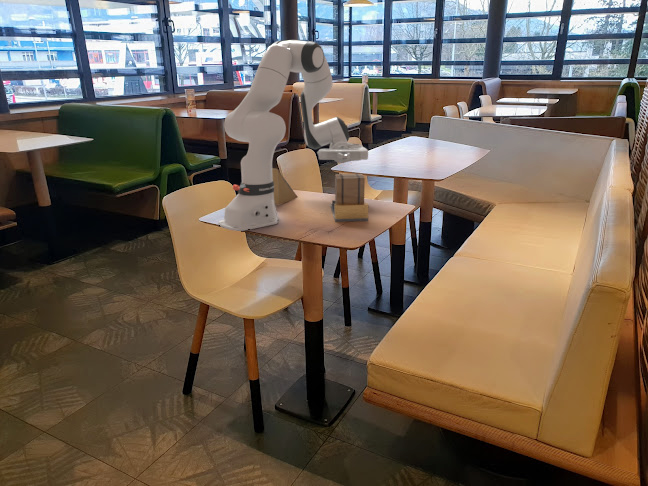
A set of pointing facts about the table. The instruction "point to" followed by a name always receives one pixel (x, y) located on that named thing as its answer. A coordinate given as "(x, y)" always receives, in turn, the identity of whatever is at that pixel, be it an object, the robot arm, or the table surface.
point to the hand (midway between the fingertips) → (344, 157)
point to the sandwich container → (281, 188)
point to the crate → (349, 188)
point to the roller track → (349, 211)
